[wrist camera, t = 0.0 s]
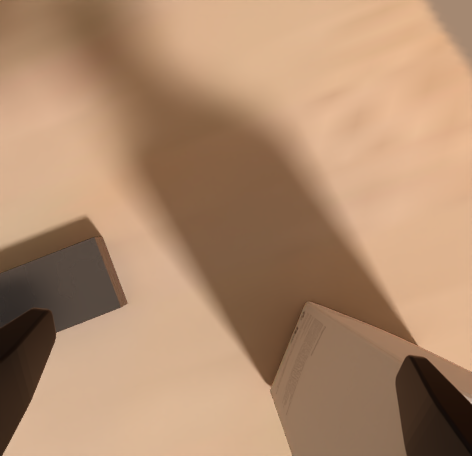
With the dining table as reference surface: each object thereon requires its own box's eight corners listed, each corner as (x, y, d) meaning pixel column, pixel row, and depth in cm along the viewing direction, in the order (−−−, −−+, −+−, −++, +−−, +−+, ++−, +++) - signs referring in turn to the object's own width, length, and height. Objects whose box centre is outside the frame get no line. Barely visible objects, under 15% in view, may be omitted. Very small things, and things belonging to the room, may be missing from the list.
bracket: (127, 303, 25) (57, 345, 15) (-7, 355, 25) (-168, 432, 15) (102, 237, 25) (16, 235, 15) (-31, 288, 25) (-207, 320, 15)
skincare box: (267, 389, 25) (325, 632, 9) (307, 291, 25) (429, 368, 10) (390, 442, 25) (657, 776, 9) (429, 343, 25) (753, 507, 9)
